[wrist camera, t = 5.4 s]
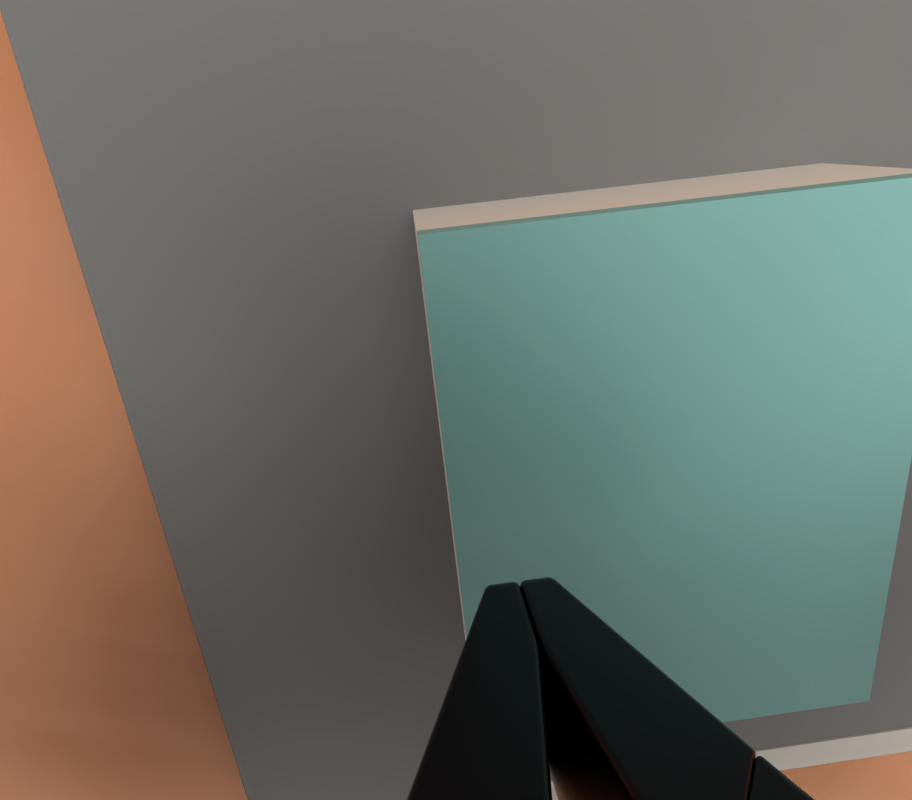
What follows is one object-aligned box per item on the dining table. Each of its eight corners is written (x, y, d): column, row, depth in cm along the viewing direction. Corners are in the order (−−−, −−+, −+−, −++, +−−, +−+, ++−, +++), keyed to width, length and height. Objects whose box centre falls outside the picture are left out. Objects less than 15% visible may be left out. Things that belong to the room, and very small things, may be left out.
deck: (481, 758, 12) (869, 700, 12) (417, 234, 8) (960, 171, 9) (465, 637, 14) (780, 593, 15) (412, 210, 11) (822, 163, 11)
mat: (265, 831, 17) (262, 848, 16) (-39, -160, 9) (-59, -173, 9) (959, 727, 17) (973, 741, 17) (1205, -274, 10) (1239, -290, 9)
